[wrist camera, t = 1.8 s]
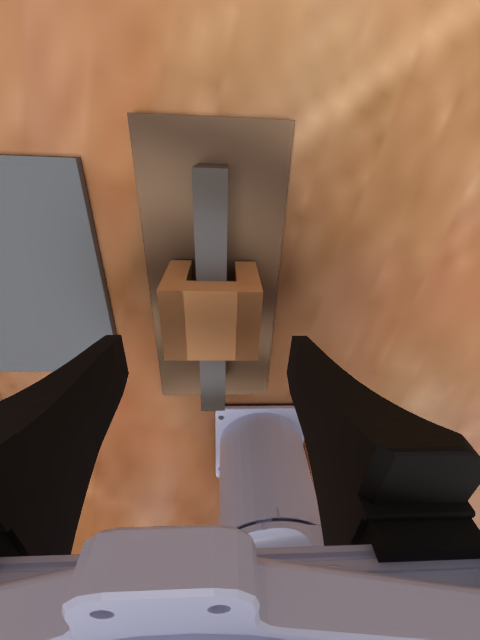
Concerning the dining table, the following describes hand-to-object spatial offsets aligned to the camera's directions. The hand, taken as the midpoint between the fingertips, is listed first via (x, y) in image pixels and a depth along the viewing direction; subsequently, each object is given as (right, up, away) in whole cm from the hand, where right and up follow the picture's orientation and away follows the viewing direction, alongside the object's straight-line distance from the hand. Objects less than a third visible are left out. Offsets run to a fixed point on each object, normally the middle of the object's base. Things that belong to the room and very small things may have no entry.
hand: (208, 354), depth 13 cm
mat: (-13, +4, +6) cm, 15 cm away
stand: (0, +4, +7) cm, 8 cm away
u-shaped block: (0, +3, +6) cm, 6 cm away
